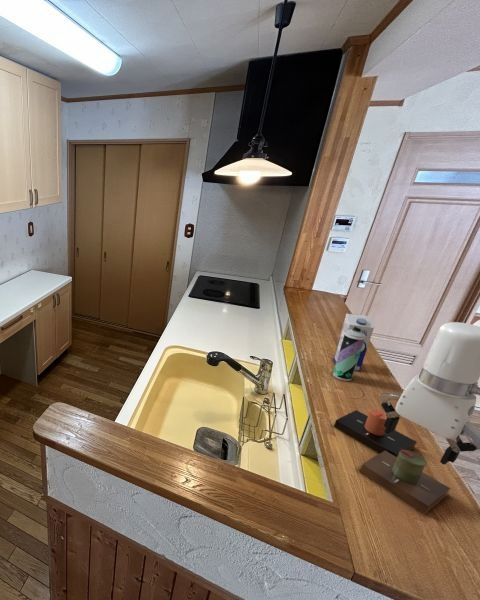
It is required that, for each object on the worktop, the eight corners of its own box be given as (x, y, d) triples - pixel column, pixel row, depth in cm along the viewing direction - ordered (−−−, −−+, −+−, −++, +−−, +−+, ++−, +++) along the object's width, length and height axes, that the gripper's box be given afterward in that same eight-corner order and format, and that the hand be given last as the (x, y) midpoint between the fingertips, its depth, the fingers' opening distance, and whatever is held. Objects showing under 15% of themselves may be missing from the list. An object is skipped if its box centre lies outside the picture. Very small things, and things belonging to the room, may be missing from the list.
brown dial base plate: (446, 496, 73) (450, 487, 72) (424, 514, 69) (428, 505, 68) (381, 457, 83) (385, 449, 82) (359, 471, 79) (362, 463, 79)
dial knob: (369, 422, 92) (375, 405, 90) (388, 432, 88) (395, 415, 86) (361, 427, 90) (367, 410, 88) (380, 438, 86) (387, 420, 84)
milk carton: (354, 362, 126) (369, 315, 119) (360, 371, 120) (376, 322, 113) (332, 359, 129) (346, 312, 122) (337, 367, 123) (351, 319, 116)
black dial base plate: (413, 449, 86) (417, 441, 85) (393, 462, 82) (397, 454, 81) (353, 416, 98) (356, 409, 97) (333, 426, 94) (336, 419, 93)
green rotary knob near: (421, 479, 74) (430, 460, 72) (411, 486, 73) (420, 467, 71) (397, 465, 78) (405, 446, 76) (388, 471, 76) (395, 452, 74)
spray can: (331, 371, 121) (346, 322, 114) (350, 375, 118) (366, 325, 111) (333, 378, 117) (348, 328, 110) (352, 382, 114) (369, 331, 107)
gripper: (518, 400, 61) (479, 469, 67) (402, 357, 75) (378, 416, 81) (502, 412, 58) (462, 482, 64) (384, 364, 72) (361, 425, 78)
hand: (415, 445), depth 72 cm, fingers open, 9 cm apart
